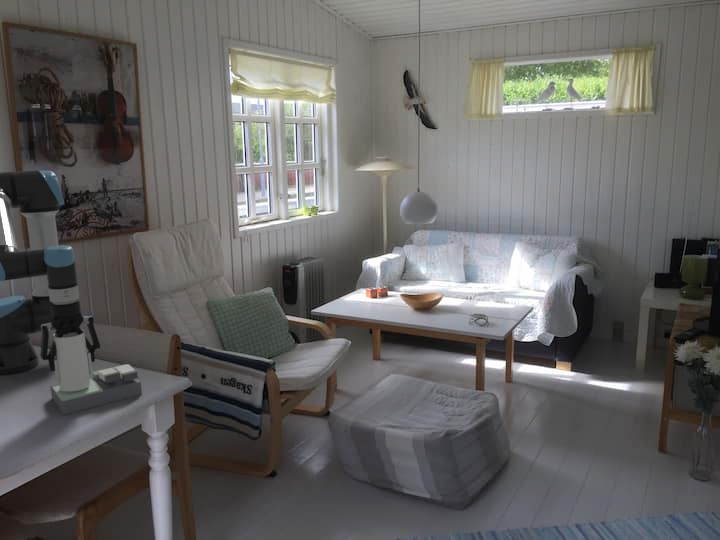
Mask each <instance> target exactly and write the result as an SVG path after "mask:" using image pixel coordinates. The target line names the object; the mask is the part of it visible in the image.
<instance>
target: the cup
mask: <svg viewBox="0 0 720 540" xmlns="http://www.w3.org/2000/svg"><path fill="white" fill-rule="evenodd" d="M80 329H81V328H80ZM81 330H82V332H83V333H82V334H80V335H78V334H77V333H76V332H74V333H68V334H63V337H62V338H58V337H55V333H53V335H52V337H53V338H52V341H53V340H54V342H56V350H57V352H56V355H55V358H56V359H57V361H58V369H59V377H60V382H58V384H59V387H60V390H62V391H77V390H81V389H84V388H86V387H88V386H89V385H90V376H91V375H90V374H89V366H88V357H87V351H88V349H87V347H86V340H85V337H86V333H85V330H84V329H81Z"/></svg>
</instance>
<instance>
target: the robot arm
mask: <svg viewBox="0 0 720 540" xmlns="http://www.w3.org/2000/svg"><path fill="white" fill-rule="evenodd" d="M62 205H64V198H63V193H62V188H61V185H60V182H59V179H58V177H57V175H56V173H55V172H53V171H52V170H40V169H39V170H38V169H37V170H24V171H4V172H3V171H2V172H0V282H5V281H10V280H11V281H12V280H18V279H19V280H20V279H27V278H33V279H34V284H35V289H33V291H32V292H31V298H30V299H26V298H25V296H24V295H13V296H11V295H10V296H7V297H2V298H0V375H13V374H18V373H21V372H22V373H23V372H25V371H28V370H31V369H33V368H35V367H37V366H38V365H39V364H40V359H39V358H41V359H42V360H43V361H48V367H49V370H50V371H51V372H53V375H54V381H56V383H59V382H60V377H59V369H58V361H57V359H56V356H55V355H56V352H57V350H56V342H54V340H53V339H52V343H51V346H50V348H49V337H50V333H49V332H50V331H51V332H52V331H55V337H58V338H62V337H63V334H68V333H74V332H76V333H77V334H78V335H80V334H82V333H83V332H82V330H83V329H82V330H81V328H80V327H81V325H82V323H83V322H84V323H85V324H86V325H87V326H86V327H87V329H88V332H89V335H90V338H91V340H92V344H91V343H90V341H89V339H88V338H87V337H86V336H85V340H86V348H87V357H88V366H89V374H90V376H92V374H93V372H94V371H93V363H94V362H95V360H96V357H95V352H96V350H98V349H100V348H101V344H100V341H99V340H100V339H99V337H98V335H97V332H96V329H95V326H94V320H95V319H94V317H93V316H91V315H90V314H89V315H87V316H83V315H82V309H81V302H80V300H79V298H80V295H79V294H80V292H79V286H78V279H77V269H76V256H75V252H74V248H73V247H72V246H71V245H64V244H62V245H61V244H60V245H59V238H58V237H59V236H58V230H57V229H58V228H57V221H56V215H57V214H58V212H60V207H59V206H62ZM11 209H19V212H20V213H19V214H21V215H22V216H23V217H24V218H26V219H25V220H26V226H27V232H28V240H29V247H30V250H24V251H19V248H18V243H17V239H16V235H15V230H14V224H13V221H12V217H11V212H10V211H11ZM38 333H41V342H40V343H41V345H40V354H38V353H37V351H36V349H35V347H34V345H33V344H32V341H31V335H32V334H38ZM48 348H49V349H48ZM39 355H40V357H39Z"/></svg>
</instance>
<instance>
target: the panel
mask: <svg viewBox="0 0 720 540" xmlns="http://www.w3.org/2000/svg"><path fill="white" fill-rule="evenodd" d="M109 368H110V367H108V368H104V369H103V368H102V370H105V369H109ZM111 368H113V369H114V370H116V371H117V372H119V373H120V378H121V380H117V381H112V382H108V383H106V382H105V381H103V380H102V379H100V378H99V374H98V371H100V370H101V369H98V370H94V371H93V374H91V375H90V385H89V386H88V387H86V388H84V389H81V390H77V391H62V390H60V387H59V383H56V384H52V385H50V393H51V399H52V400H53V402H54V403H55V404H56V406H57V408H58V409H59V410H60V411H61V413H62V414H63V415H67V414H71V413H76V412H79V411H83V410H87V409H90V408H95V407H99V406H102V405H106V404H109V403H114V402H118V401H121V400H125V399H129V398H133V397H136V396H140V395H142V394H143V391H142V384H141V383H142V382H141V381H140V379H139V378H138V371H137V370H136V369H135V368H133V367H132V365H130V364H127V363H126V364H121V365H117V366H113V367H111Z"/></svg>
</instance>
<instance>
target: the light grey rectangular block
mask: <svg viewBox="0 0 720 540" xmlns="http://www.w3.org/2000/svg"><path fill="white" fill-rule="evenodd" d="M108 368H109V369H107V368H104V369H105V370H103V369H99V370H100V371H99V370H97V371H98V374H99V378H100V379H102V380H103V381H105V382H106V383H108V382H112V381H117V380H121V378H120V373H119V372H117V371H116V370H114V369H113V368H112V367H108Z"/></svg>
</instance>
